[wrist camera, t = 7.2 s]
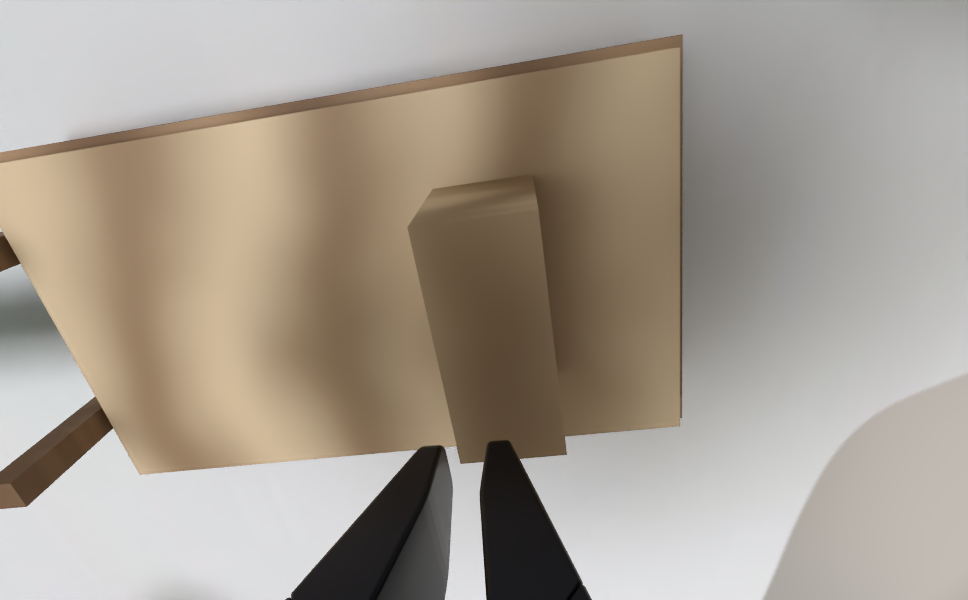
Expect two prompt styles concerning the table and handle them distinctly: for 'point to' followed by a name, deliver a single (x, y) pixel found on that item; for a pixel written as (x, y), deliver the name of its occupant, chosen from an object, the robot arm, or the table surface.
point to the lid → (374, 271)
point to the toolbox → (91, 421)
